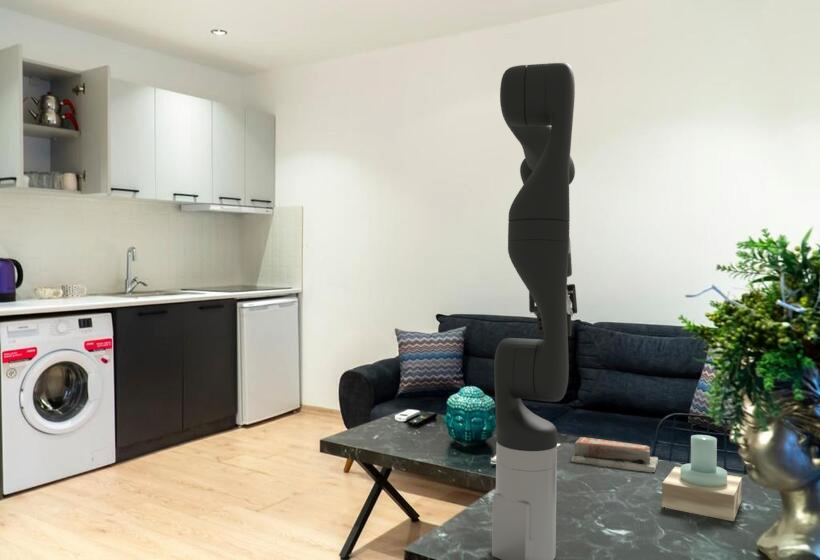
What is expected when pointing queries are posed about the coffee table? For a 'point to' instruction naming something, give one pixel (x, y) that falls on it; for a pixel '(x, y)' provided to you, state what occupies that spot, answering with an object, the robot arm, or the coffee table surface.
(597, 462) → the packaged product
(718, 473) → the mint green knob
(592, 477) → the coffee table surface
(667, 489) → the block
